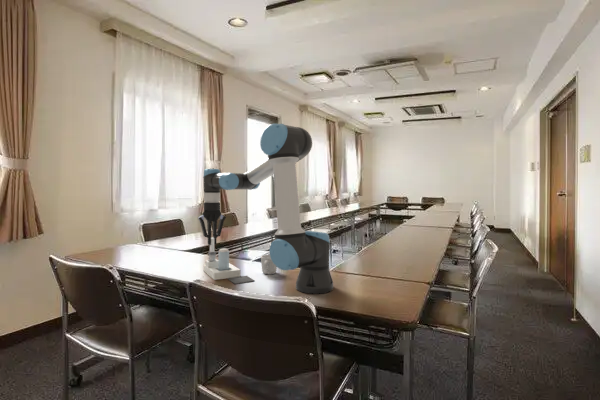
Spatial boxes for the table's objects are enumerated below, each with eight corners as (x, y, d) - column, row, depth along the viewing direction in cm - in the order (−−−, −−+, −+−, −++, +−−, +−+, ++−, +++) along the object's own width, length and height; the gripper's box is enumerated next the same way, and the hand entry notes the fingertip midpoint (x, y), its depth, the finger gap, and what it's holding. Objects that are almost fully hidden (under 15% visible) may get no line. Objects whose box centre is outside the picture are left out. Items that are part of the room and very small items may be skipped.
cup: (273, 277, 156) (273, 259, 155) (256, 276, 157) (256, 258, 157) (279, 271, 166) (279, 255, 166) (263, 270, 168) (263, 254, 168)
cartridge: (230, 275, 158) (230, 249, 157) (220, 277, 156) (220, 250, 155) (227, 273, 162) (227, 247, 162) (217, 274, 160) (216, 248, 159)
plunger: (217, 264, 163) (217, 252, 163) (209, 265, 162) (209, 253, 161) (214, 263, 166) (214, 251, 166) (207, 263, 165) (207, 251, 164)
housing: (240, 276, 157) (240, 264, 157) (214, 279, 151) (214, 267, 151) (227, 267, 173) (227, 256, 172) (203, 270, 167) (203, 259, 166)
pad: (254, 281, 149) (254, 280, 149) (234, 284, 145) (234, 283, 145) (246, 276, 157) (246, 275, 157) (227, 279, 153) (227, 278, 152)
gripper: (223, 201, 169) (223, 249, 170) (195, 201, 163) (196, 251, 164) (228, 201, 163) (227, 251, 164) (200, 202, 156) (200, 254, 157)
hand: (212, 251), depth 164 cm, fingers closed
